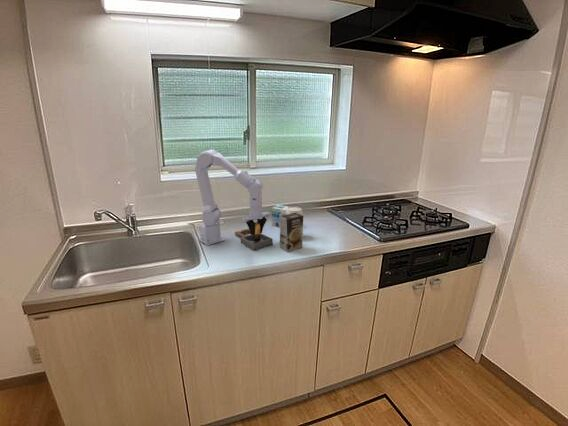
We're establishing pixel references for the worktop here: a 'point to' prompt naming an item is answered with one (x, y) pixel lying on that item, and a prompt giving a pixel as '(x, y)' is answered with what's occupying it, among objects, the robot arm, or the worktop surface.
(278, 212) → the light bulb box
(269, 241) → the tray
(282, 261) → the worktop surface
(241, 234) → the brown square shallow dish
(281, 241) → the coffee box
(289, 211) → the supplement can
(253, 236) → the cell
